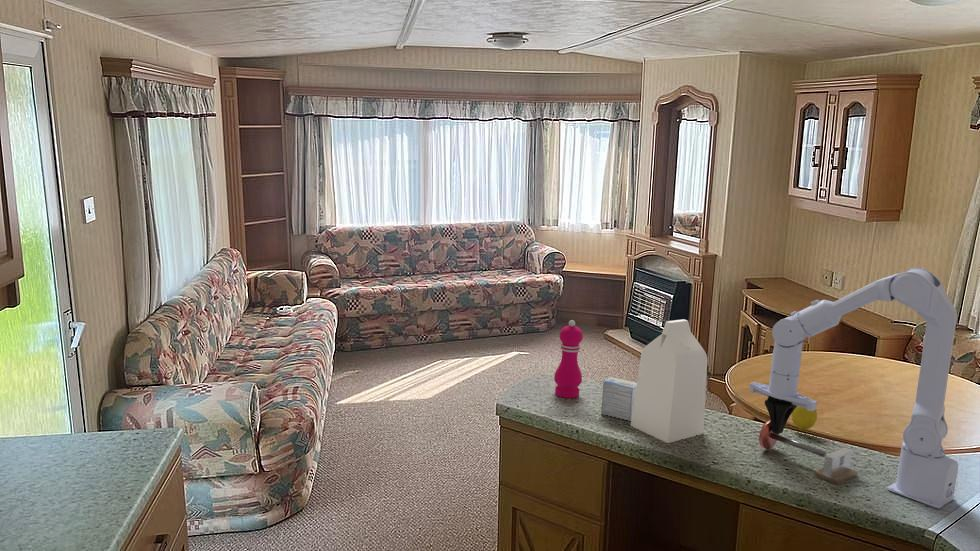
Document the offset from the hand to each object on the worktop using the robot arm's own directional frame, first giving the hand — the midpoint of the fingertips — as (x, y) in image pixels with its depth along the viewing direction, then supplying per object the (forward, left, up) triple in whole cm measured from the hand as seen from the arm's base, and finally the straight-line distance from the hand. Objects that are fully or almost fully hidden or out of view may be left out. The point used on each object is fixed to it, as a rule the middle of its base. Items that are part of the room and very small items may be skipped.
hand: (777, 432), depth 158 cm
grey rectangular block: (+33, +13, -5) cm, 36 cm away
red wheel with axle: (-4, 0, -4) cm, 6 cm away
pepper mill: (+51, +13, -5) cm, 53 cm away
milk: (+21, +10, -5) cm, 24 cm away
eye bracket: (-14, 0, -5) cm, 14 cm away
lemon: (+3, -18, -5) cm, 19 cm away
